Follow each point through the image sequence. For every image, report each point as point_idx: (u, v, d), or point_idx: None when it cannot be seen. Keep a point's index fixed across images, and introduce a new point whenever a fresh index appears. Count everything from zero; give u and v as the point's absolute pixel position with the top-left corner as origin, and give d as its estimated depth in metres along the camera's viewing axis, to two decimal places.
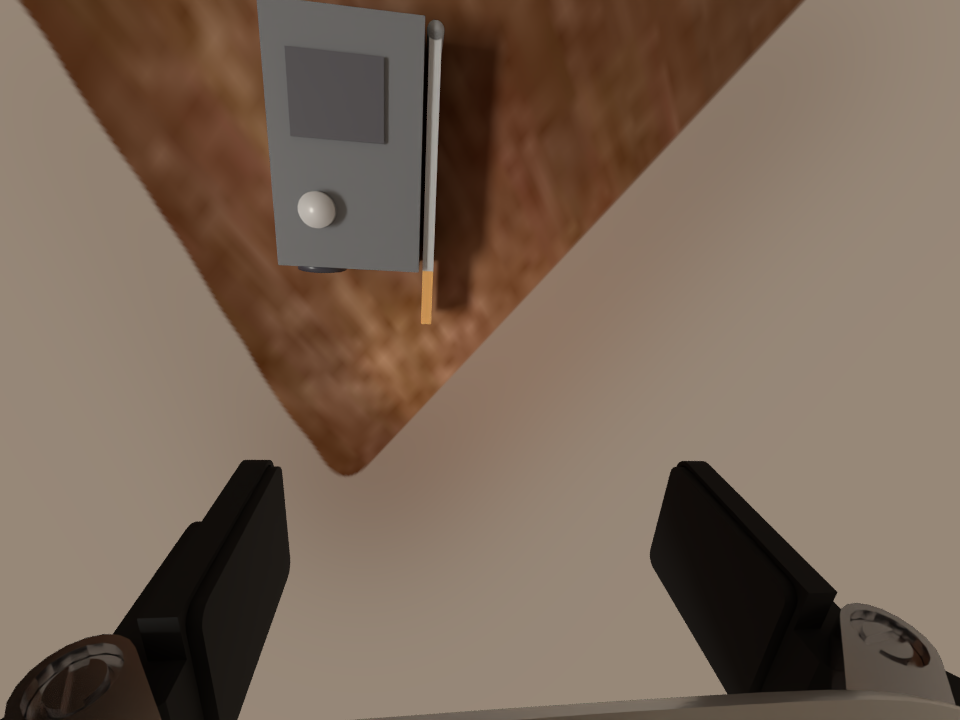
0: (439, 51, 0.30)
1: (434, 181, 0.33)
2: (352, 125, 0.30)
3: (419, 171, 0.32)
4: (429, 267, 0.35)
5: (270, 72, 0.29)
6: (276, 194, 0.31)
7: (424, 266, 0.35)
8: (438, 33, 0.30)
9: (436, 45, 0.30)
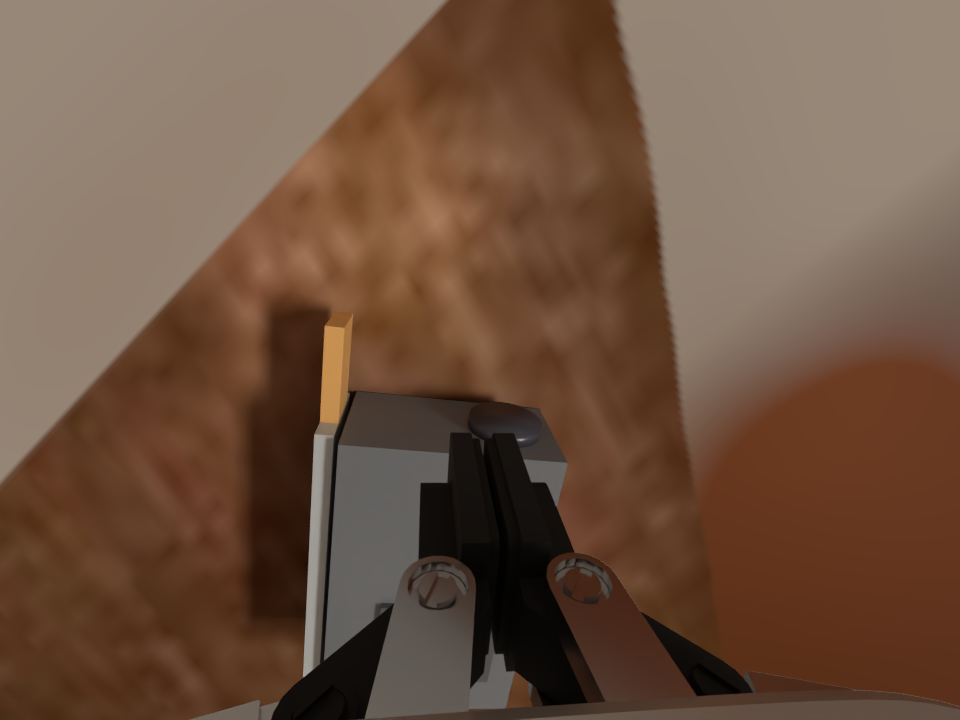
0: (305, 674, 0.24)
1: (311, 554, 0.21)
2: None
3: (331, 576, 0.21)
4: (321, 440, 0.20)
5: None
6: None
7: (330, 442, 0.20)
8: None
9: None
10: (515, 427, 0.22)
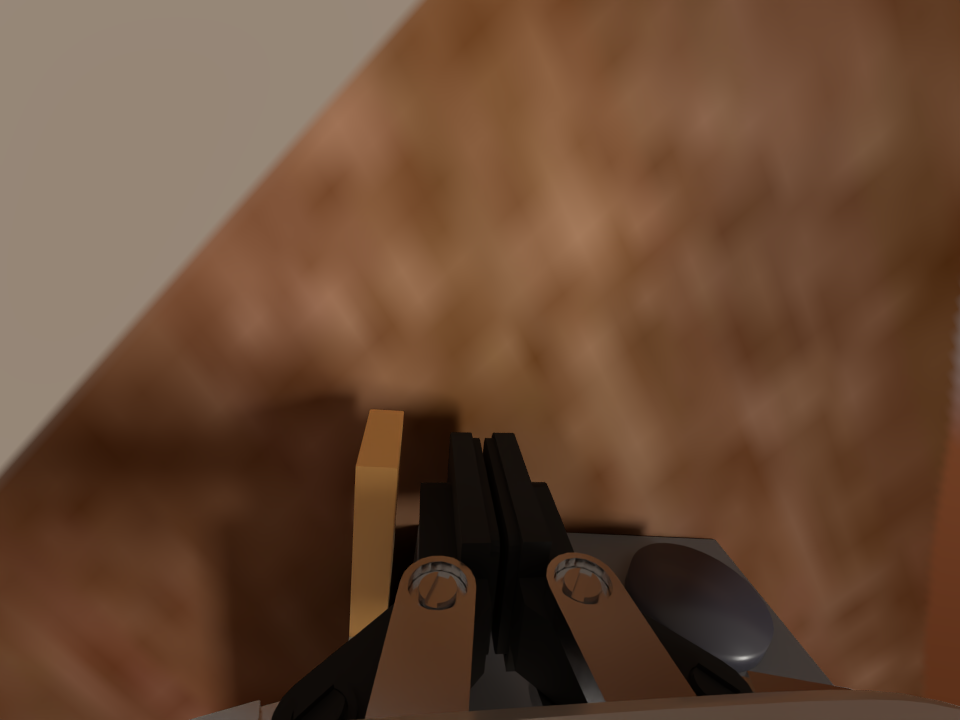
0: None
1: None
2: None
3: None
4: None
5: None
6: None
7: None
8: None
9: None
10: (729, 622, 0.11)
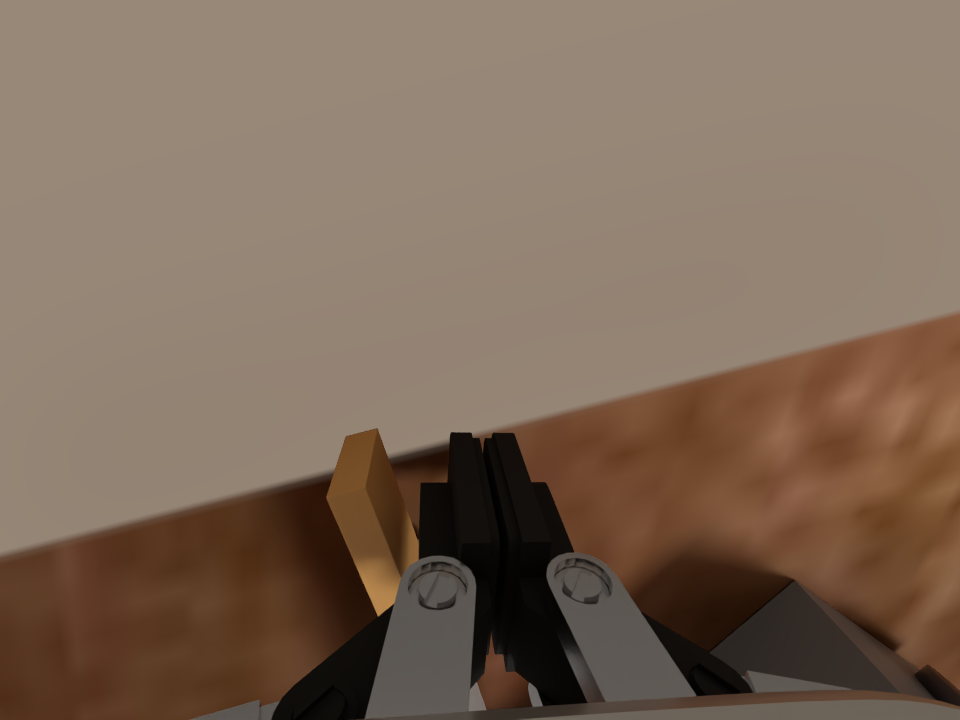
0: None
1: None
2: None
3: None
4: None
5: None
6: None
7: None
8: None
9: None
10: None
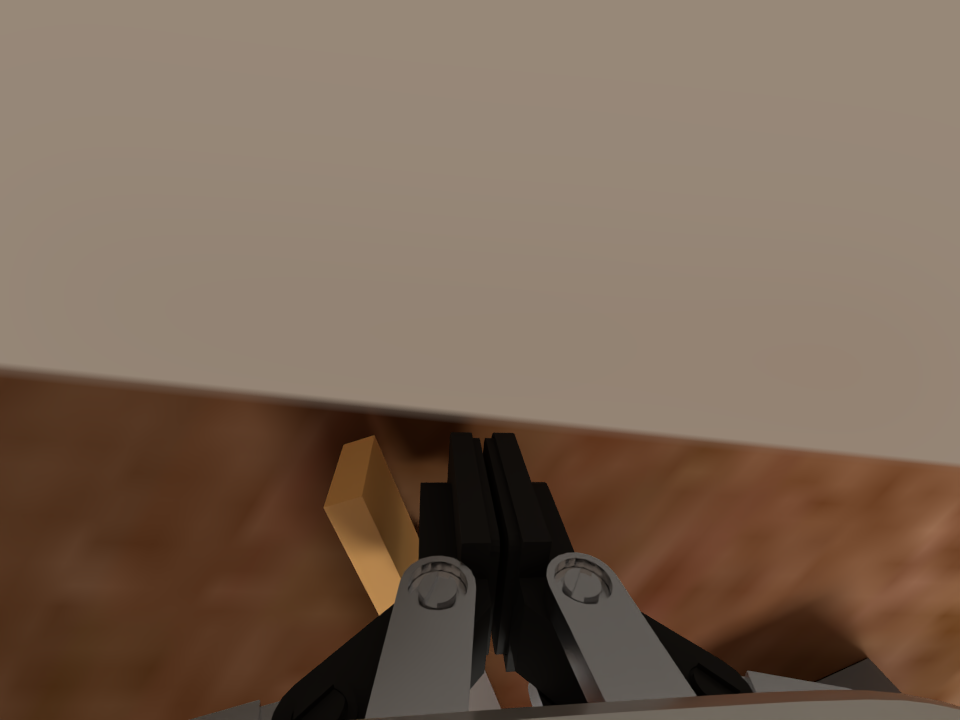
0: None
1: None
2: None
3: None
4: None
5: None
6: None
7: None
8: None
9: None
10: None
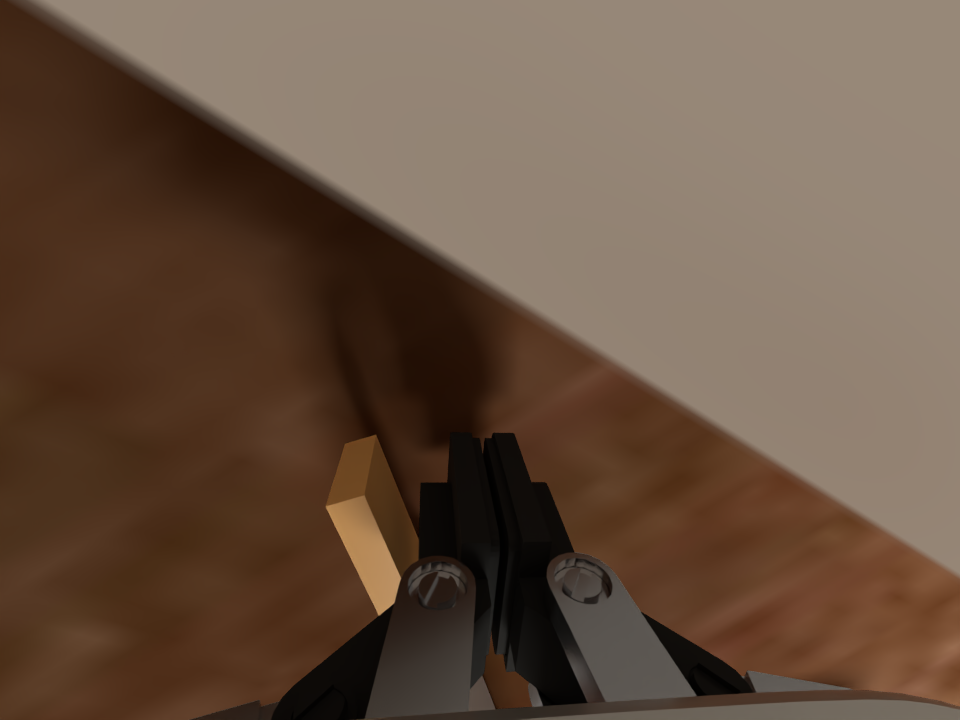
0: None
1: None
2: None
3: None
4: None
5: None
6: None
7: None
8: None
9: None
10: None
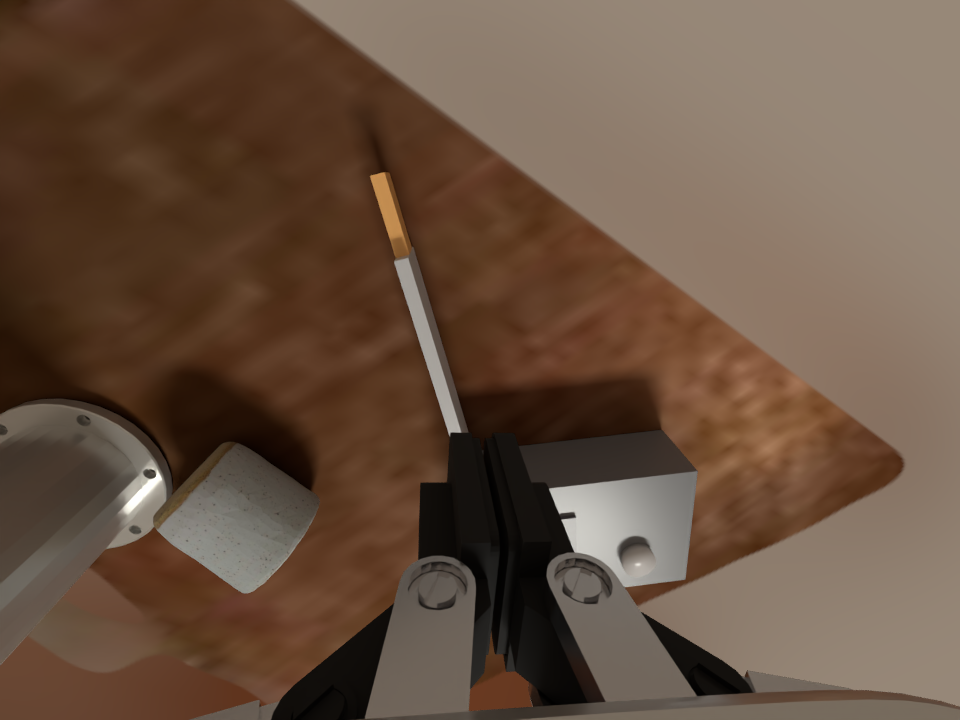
0: None
1: (429, 364, 0.28)
2: None
3: (597, 484, 0.31)
4: (400, 265, 0.25)
5: None
6: (623, 584, 0.35)
7: (407, 264, 0.25)
8: None
9: None
10: None
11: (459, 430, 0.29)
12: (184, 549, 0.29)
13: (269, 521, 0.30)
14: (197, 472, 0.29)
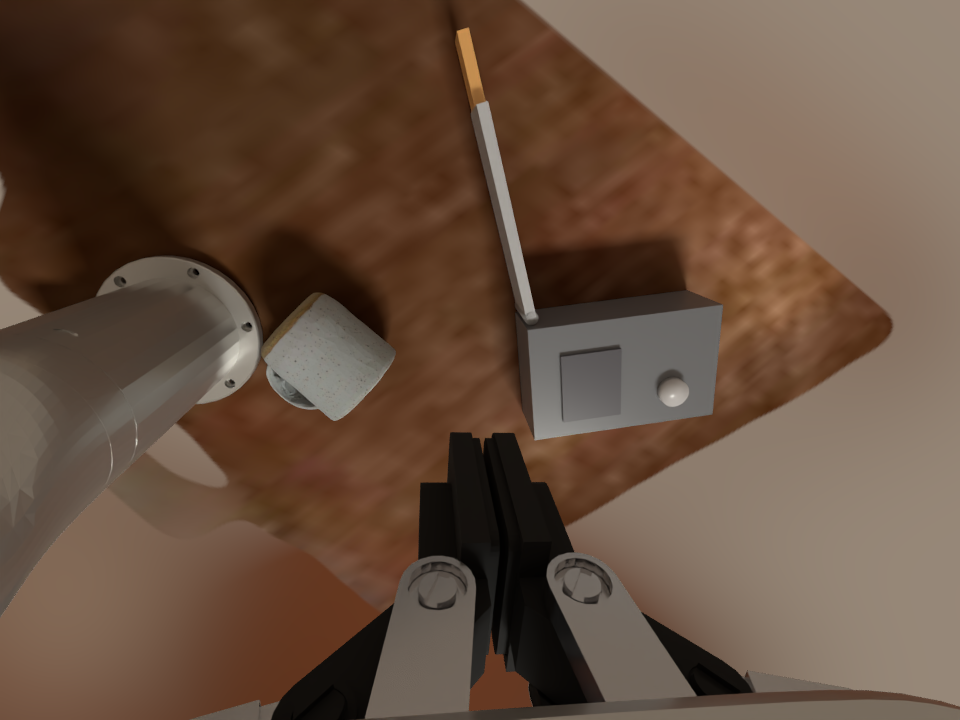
0: (524, 305, 0.36)
1: (501, 202, 0.33)
2: (610, 373, 0.38)
3: (639, 316, 0.36)
4: (481, 107, 0.31)
5: (579, 428, 0.40)
6: (660, 419, 0.40)
7: (487, 107, 0.31)
8: (528, 317, 0.36)
9: (528, 308, 0.36)
10: None
11: (523, 266, 0.35)
12: (291, 372, 0.34)
13: (362, 349, 0.34)
14: (301, 304, 0.33)
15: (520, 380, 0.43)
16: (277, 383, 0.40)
